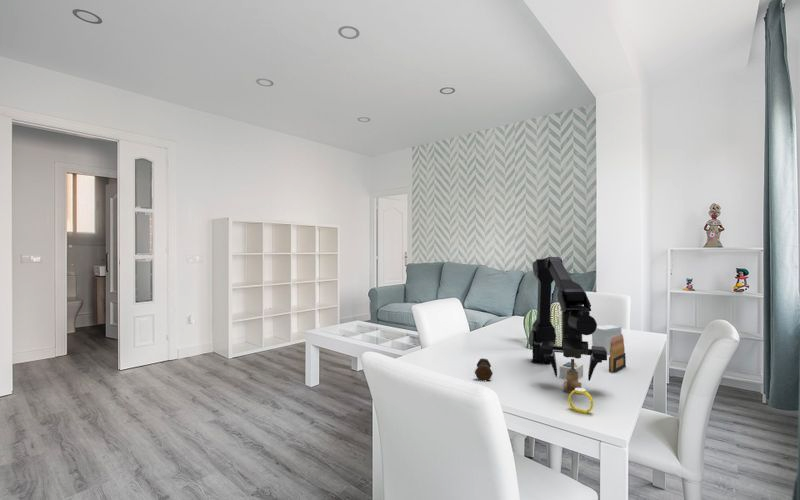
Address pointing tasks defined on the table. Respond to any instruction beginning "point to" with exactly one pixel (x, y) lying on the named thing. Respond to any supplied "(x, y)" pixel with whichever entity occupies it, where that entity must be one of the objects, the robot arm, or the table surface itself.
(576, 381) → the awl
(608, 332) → the skincare box
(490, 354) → the table surface
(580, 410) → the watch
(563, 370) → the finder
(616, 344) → the ammunition clip
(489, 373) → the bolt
